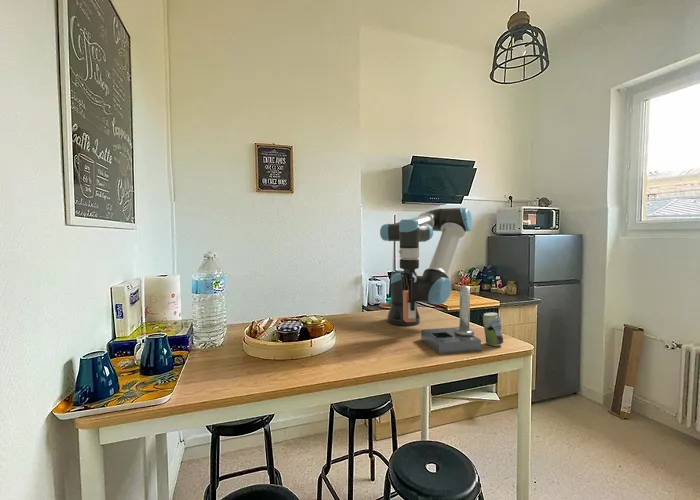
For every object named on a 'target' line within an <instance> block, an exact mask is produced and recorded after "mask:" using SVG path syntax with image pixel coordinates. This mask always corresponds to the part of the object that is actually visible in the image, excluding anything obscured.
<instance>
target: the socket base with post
mask: <svg viewBox="0 0 700 500" xmlns="http://www.w3.org/2000/svg"><path fill="white" fill-rule="evenodd" d="M470 309H471V286H470V285H460V286H459V325H458V326H455V327H443V328H441V327H440V328H428V329H421V330H420V340H421V341H422V342H424V343H425V344H426V345H427V346H428V347H429V348H431V349H432V350H433V351H434V352H435V353H437V354H438V355H448V354H449V355H450V354H458V353H459V354H460V353H469V352H481V349H482V339H480V338H479V337H476V336H475V330H474V329H472V328H470V323H471V322H470V316H471V315H470V314H471V311H470Z"/></svg>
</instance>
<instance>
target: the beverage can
mask: <svg viewBox="0 0 700 500" xmlns="http://www.w3.org/2000/svg"><path fill="white" fill-rule="evenodd" d="M482 323H483V328H484V329H483V331H484V335H485V336H484V337H485V343H486V344H488V345H489V346H491V347H492V346H493V347H498V346H501V345H502V344H503V343H504V337H503V331H502V324H501V317H500V315H499V313H497V312H494V311H493V312H485V313H484V314H483V316H482Z"/></svg>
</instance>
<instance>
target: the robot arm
mask: <svg viewBox="0 0 700 500" xmlns="http://www.w3.org/2000/svg"><path fill="white" fill-rule="evenodd" d="M472 220H473V219H472V215H471V211H470V209H469V208H467V207H455V208H454V207H453V208H452V207H450V208H448V207H447V208H435V209H432V210H429V211H425V212H422V213H420V214H419V215H417V216H416V217H412V218H410V219H409V218H408V219H400V221H398V222H396V223H385V224H383V225H381V226H380V230H379V233H380V234H379V235H380V238H381V239H382V241H385V242H399V250H398V254H399V258H400V259H399V268H400V269H401V270H403V271H402V272H397V273H393V274H392V275H391V278H390V307H389V310H388V314H387V317H386V319H387V323H389V324H390V325H395V326H400V327H401V326H403V327H406V326H408V327H409V326H410V327H411V326H416V325H419V324H420V322H421V316H420V313H419V310H418V307H417V306H416V322H405V321H404V320H403V290H408V294H409V301H407V302H408V318H409V319H411V318H415V302H416V303H417V302H419V303H424V304H431V305H442V304H445V303H446V302H447V301H448V300H449V297H450V295H451V292H452V282H451V280H450V277H449V274H448V272H449V271H450V267H451V265H452V262H453V258H454V255H455V252H456V249H457V247H458V245H459V241H460V239H462V238H463V237H464V236H465V234H466V232H467V233H468V232H470V231H471V230H472V228H473V221H472ZM434 232H441V235H440V238H439V240H438V243H437V246H436V249H435V250H434V254H433V256H432V258H431V262H430V264H429V267H428V268H425V270H424V271H423V273H422V275H418V273H417V272H416V270H417V269H419V268H420V259H419V257H420V247H419V245H420V244H419V243H422V242H423V243H425V242H428V241H430V240H431V239H432V237H433V236H434Z"/></svg>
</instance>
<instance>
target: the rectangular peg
mask: <svg viewBox="0 0 700 500" xmlns="http://www.w3.org/2000/svg"><path fill="white" fill-rule="evenodd" d="M407 301H409V294H408V290H403V320H404V321H405V322H416V307H417V302H415V318H411V319H409V318H408V302H407Z"/></svg>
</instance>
